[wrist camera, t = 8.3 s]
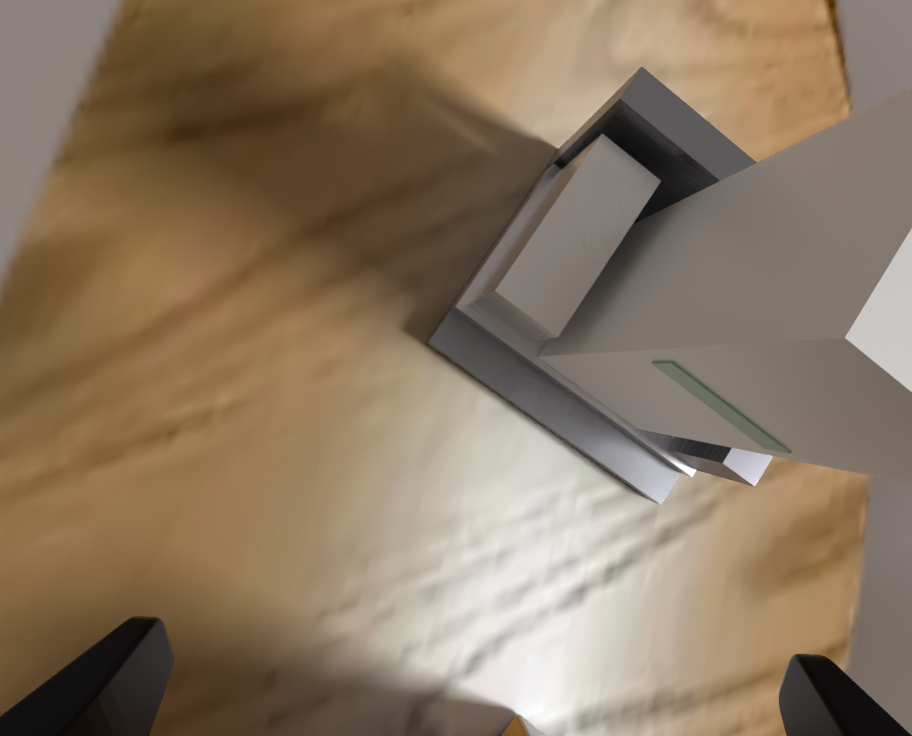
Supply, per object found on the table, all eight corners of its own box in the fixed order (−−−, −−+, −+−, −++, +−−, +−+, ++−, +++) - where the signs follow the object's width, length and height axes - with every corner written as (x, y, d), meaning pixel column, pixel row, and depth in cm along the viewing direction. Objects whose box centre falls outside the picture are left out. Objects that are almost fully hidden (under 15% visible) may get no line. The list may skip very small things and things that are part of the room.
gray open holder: (649, 500, 22) (764, 548, 16) (425, 342, 20) (460, 331, 14) (766, 312, 23) (916, 291, 17) (558, 148, 21) (643, 62, 15)
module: (635, 429, 20) (1060, 516, 8) (537, 357, 19) (842, 340, 8) (718, 300, 21) (1227, 209, 9) (625, 227, 20) (1037, 23, 8)
